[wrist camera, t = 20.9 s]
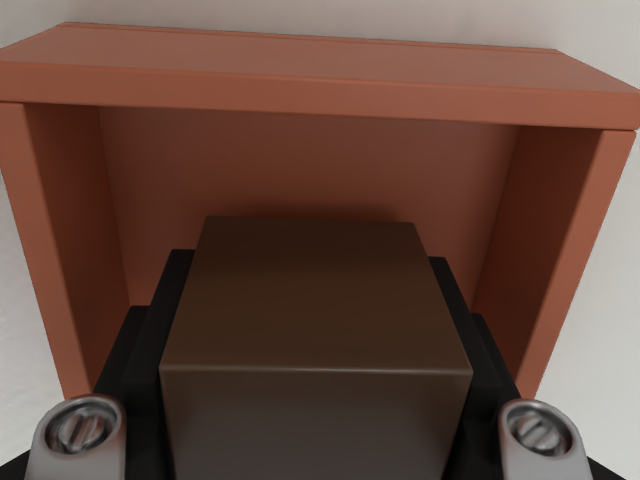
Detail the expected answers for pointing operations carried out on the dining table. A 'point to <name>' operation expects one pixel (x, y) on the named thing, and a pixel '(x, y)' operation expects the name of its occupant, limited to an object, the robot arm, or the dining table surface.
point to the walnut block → (312, 355)
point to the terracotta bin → (304, 165)
